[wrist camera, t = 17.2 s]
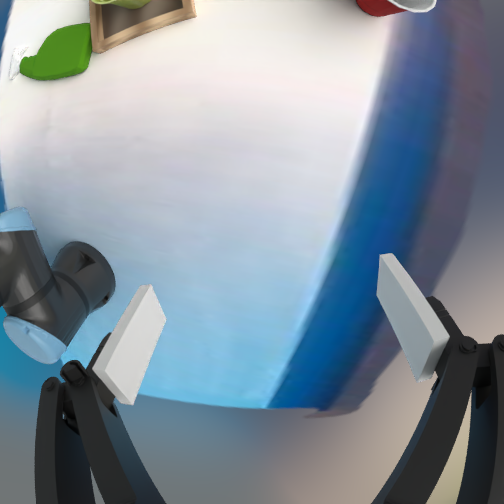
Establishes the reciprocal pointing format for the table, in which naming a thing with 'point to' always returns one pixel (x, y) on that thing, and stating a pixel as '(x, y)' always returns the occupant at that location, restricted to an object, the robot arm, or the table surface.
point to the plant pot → (124, 3)
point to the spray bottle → (56, 55)
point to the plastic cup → (394, 6)
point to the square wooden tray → (133, 20)
